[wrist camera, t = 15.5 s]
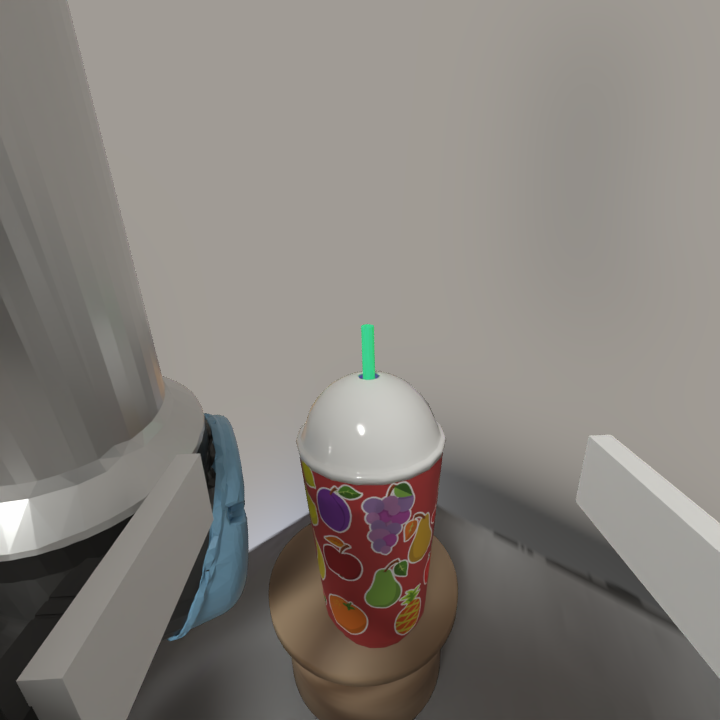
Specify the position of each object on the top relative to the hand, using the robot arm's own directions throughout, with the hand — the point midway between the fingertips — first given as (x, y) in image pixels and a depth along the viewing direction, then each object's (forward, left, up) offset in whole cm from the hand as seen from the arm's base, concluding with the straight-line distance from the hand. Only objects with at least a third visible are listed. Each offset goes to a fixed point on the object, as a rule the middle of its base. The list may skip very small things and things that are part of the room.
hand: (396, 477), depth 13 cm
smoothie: (-3, +8, -17) cm, 19 cm away
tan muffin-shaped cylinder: (-5, +10, -25) cm, 27 cm away
